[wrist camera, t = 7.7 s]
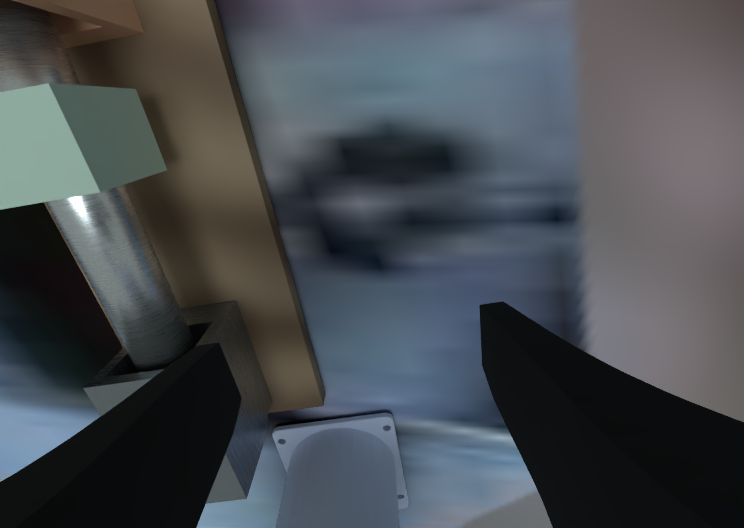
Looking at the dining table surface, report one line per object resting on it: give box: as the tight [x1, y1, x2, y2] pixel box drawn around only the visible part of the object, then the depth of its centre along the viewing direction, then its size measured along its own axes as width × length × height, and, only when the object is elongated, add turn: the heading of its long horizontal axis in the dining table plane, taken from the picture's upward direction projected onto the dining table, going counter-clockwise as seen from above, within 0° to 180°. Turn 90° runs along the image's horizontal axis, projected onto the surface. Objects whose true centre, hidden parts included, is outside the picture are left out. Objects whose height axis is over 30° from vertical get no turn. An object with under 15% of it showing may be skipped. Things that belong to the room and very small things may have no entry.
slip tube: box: [0, 0, 196, 373], centre depth 13 cm, size 16×4×4 cm, turn 9°
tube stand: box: [12, 0, 325, 503], centre depth 15 cm, size 24×10×7 cm, turn 9°
